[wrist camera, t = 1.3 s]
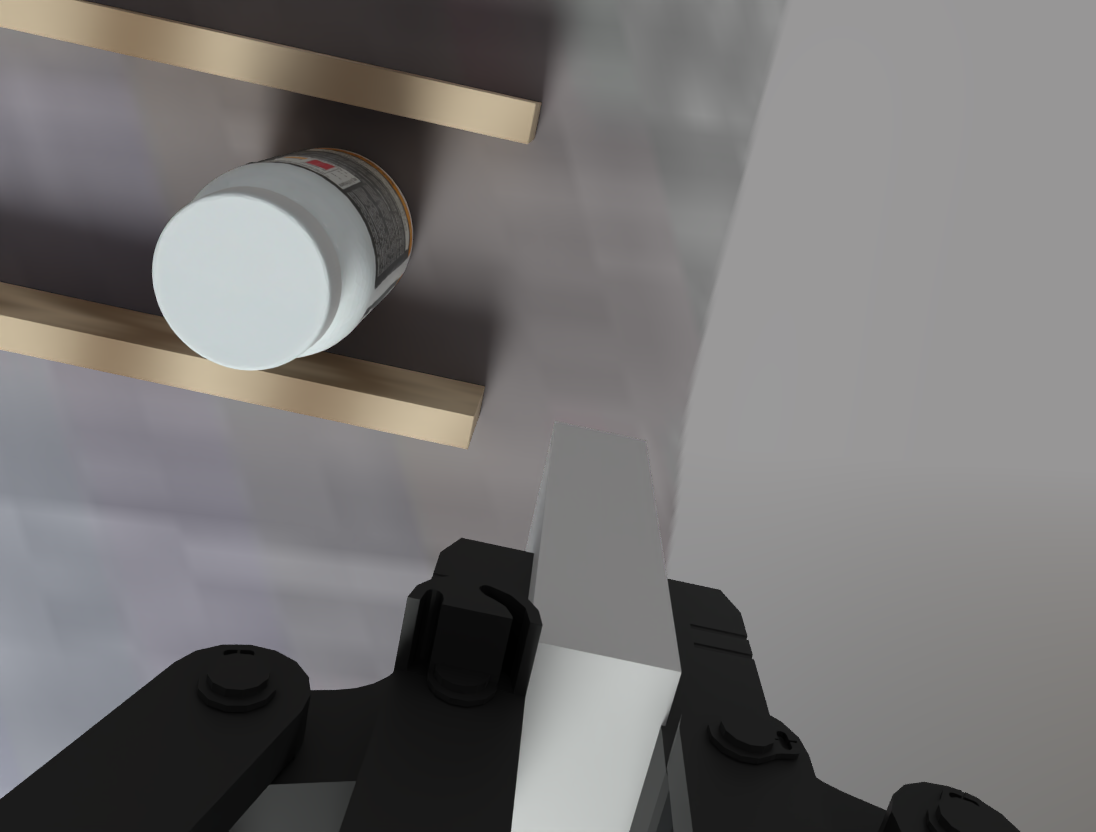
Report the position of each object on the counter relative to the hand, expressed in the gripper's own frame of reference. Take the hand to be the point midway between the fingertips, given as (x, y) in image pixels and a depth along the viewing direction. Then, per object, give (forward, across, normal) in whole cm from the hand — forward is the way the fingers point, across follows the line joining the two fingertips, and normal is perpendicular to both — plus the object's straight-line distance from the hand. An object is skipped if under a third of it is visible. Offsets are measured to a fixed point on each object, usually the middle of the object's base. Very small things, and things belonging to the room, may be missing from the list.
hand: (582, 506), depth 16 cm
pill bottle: (+20, -9, 0) cm, 22 cm away
